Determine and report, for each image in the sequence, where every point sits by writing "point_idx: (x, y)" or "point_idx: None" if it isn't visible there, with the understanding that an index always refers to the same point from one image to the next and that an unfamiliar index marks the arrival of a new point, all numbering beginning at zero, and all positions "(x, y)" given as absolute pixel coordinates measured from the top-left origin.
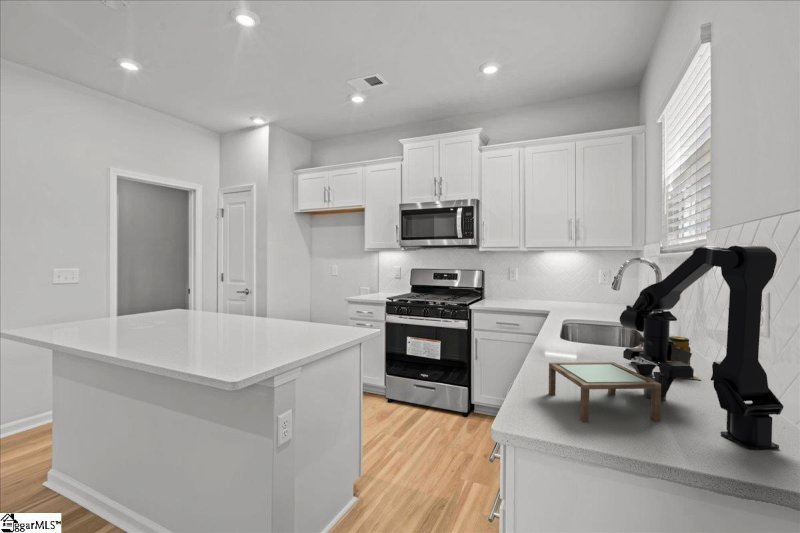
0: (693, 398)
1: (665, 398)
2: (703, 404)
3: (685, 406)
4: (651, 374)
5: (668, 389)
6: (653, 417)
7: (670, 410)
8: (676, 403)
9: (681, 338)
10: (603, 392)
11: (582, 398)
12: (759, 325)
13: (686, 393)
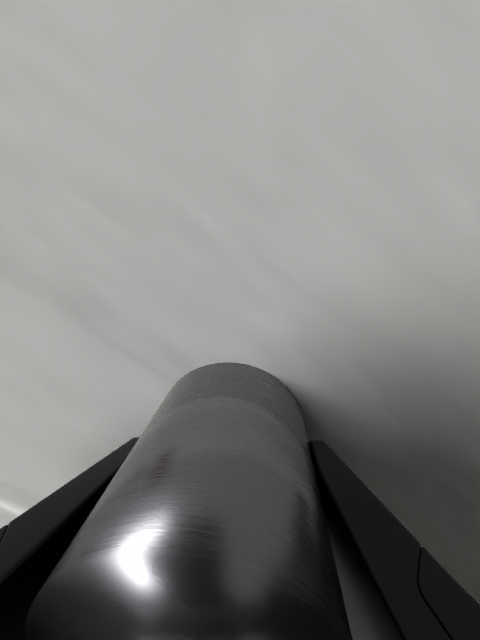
0: (237, 81)
1: (295, 405)
2: (407, 101)
3: (424, 325)
4: (30, 632)
5: (383, 505)
6: None
7: (472, 481)
8: (352, 350)
9: None
10: None
11: None
12: None
13: (90, 47)
